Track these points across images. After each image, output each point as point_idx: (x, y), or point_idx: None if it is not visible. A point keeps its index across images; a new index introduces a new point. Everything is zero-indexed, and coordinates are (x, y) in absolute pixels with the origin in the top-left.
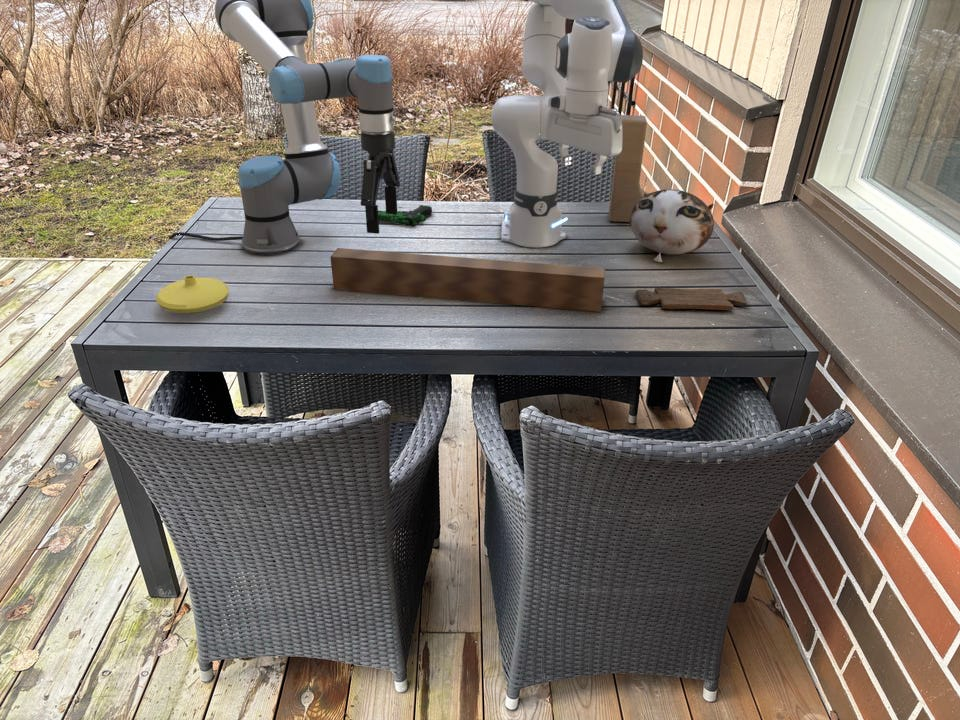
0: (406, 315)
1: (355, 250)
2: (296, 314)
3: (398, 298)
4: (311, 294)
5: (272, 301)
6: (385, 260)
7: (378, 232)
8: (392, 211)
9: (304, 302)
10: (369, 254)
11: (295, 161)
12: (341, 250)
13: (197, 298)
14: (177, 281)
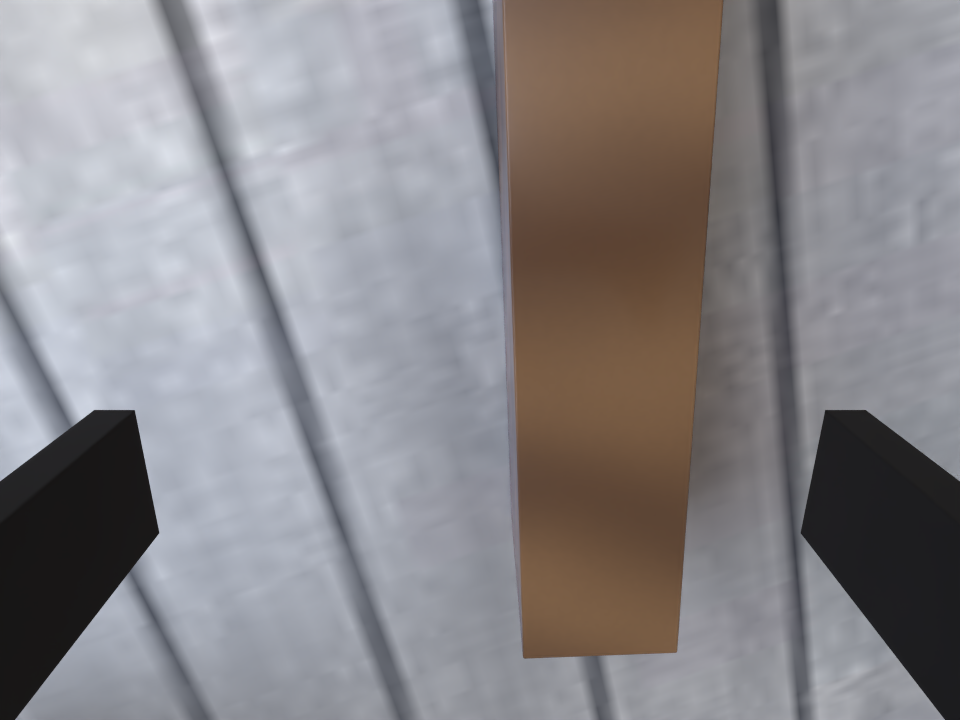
0: (918, 11)
1: (543, 545)
2: None
3: None
4: (696, 583)
5: (786, 695)
6: (701, 275)
7: (866, 415)
8: (127, 475)
9: (785, 580)
10: (601, 431)
11: None
12: (565, 624)
13: None
14: None
